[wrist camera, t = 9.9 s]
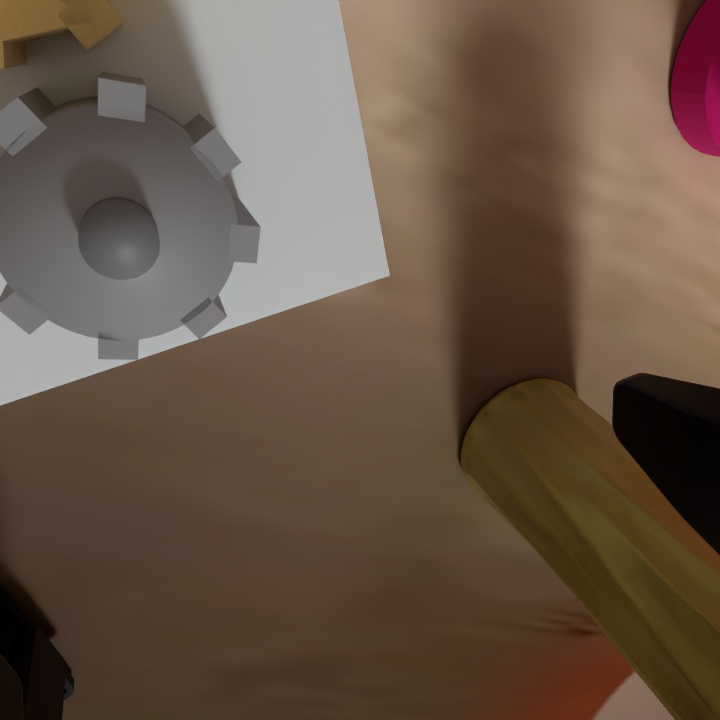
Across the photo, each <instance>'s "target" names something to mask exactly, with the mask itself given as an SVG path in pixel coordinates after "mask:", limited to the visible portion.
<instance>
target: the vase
mask: <svg viewBox="0 0 720 720" xmlns="http://www.w3.org/2000/svg"><path fill="white" fill-rule="evenodd" d="M461 467H462V470H463V473H464V475H465V477H466V479H467V481H468V483H469V484H470V485H471V487H472V488H474V489H475V490H476V491H477V492H478V493H479V494H480V495H481V496H482V497H483V498H484V499H485V500H486V501H487V502H488V503H489V504H490V505H491V506H492V507H493V508H494V509H495V510H496V511H497V512H498V513H499V514H500V515H501V516H502V517H503V518H504V519H505V520H506V521H507V522H508V523H509V524H510V526H511V527H512V528H513V529H514V530H515V531H516V532H517V533H518V534H519V535H520V536H521V537H522V538H523V539H524V540H525V541H526V542H527V543H528V544H529V545H530V546H531V547H532V548H533V549H534V550H535V551H536V552H537V553H538V554H539V556H540V557H541V558H542V559H543V560H544V561H545V562H546V563H547V564H548V565H549V566H550V567H551V568H552V569H553V570H554V572H555V573H556V574H557V575H558V576H559V577H560V578H561V579H562V581H563V582H564V583H565V584H566V585H567V587H568V588H569V589H570V590H571V592H572V593H573V594H574V595H575V597H576V598H577V599H578V600H579V602H580V603H581V604H582V605H583V606H584V608H585V609H586V610H587V612H588V613H589V614H590V615H591V617H592V618H593V619H594V621H595V622H596V623H597V625H598V626H599V627H600V628H601V630H602V631H603V632H604V633H605V635H606V636H607V637H608V638H609V640H610V641H611V642H612V643H613V645H614V646H615V647H616V648H617V649H618V651H619V652H620V653H621V654H622V656H623V657H624V658H625V659H626V660H627V662H628V663H629V664H630V665H631V667H632V668H633V669H634V670H635V671H636V673H637V674H638V675H639V676H640V677H641V679H642V680H643V681H644V682H645V683H646V684H647V686H648V687H649V688H650V689H651V691H652V692H653V693H654V694H655V696H656V697H657V698H658V699H659V701H660V702H661V703H662V704H663V705H664V707H665V708H666V709H667V710H668V712H669V713H670V714H671V715H672V717H673V718H674V719H675V720H720V555H719V554H718V553H717V552H716V551H715V550H714V549H713V548H712V547H711V546H710V545H709V544H708V543H707V542H706V541H705V540H704V539H703V538H702V537H701V536H700V535H699V534H698V533H697V532H696V531H695V530H694V529H693V528H692V527H691V526H690V525H689V524H688V523H687V522H686V521H685V520H684V519H683V518H682V517H681V515H680V514H679V513H678V512H677V511H676V510H675V509H674V507H673V506H672V505H671V504H670V503H669V501H668V500H667V499H666V498H665V497H664V495H663V494H662V493H661V492H660V490H659V489H658V488H657V487H656V486H655V484H654V483H653V482H652V481H651V480H650V478H649V477H648V476H647V475H646V473H645V472H644V471H643V470H642V469H641V467H640V466H639V465H638V464H637V462H636V461H635V460H634V459H633V458H632V456H631V455H630V454H629V453H628V451H627V450H626V449H625V448H624V447H623V445H622V444H621V443H620V442H619V440H618V439H617V437H616V435H615V433H614V430H613V426H612V425H611V424H610V423H608V422H607V421H606V420H605V419H604V418H603V417H601V416H600V415H599V414H598V413H596V412H595V411H594V410H592V409H591V408H590V407H588V406H587V405H586V404H585V403H584V402H583V401H582V400H581V399H580V398H579V397H578V396H577V395H576V393H575V392H574V391H573V390H572V389H571V388H570V387H569V386H567V385H566V384H564V383H562V382H560V381H556V380H552V379H544V378H539V379H532V380H528V381H524V382H521V383H518V384H516V385H513V386H511V387H509V388H507V389H505V390H503V391H502V392H500V393H499V394H497V395H496V396H495V397H494V398H492V399H491V400H490V401H489V402H488V403H487V404H486V405H485V406H484V407H482V409H481V410H480V411H479V412H478V414H477V415H476V416H475V418H474V419H473V421H472V423H471V424H470V426H469V428H468V430H467V432H466V435H465V437H464V441H463V445H462V451H461Z"/></svg>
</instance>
